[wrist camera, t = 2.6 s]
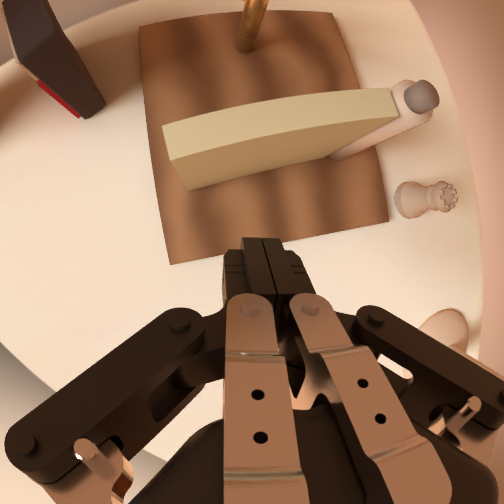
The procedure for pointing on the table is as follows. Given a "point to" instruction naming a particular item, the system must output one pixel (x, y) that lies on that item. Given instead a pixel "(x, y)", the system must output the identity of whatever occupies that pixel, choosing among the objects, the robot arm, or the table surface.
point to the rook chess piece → (424, 198)
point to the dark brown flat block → (50, 56)
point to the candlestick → (449, 335)
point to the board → (241, 93)
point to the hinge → (293, 130)
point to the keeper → (250, 24)
